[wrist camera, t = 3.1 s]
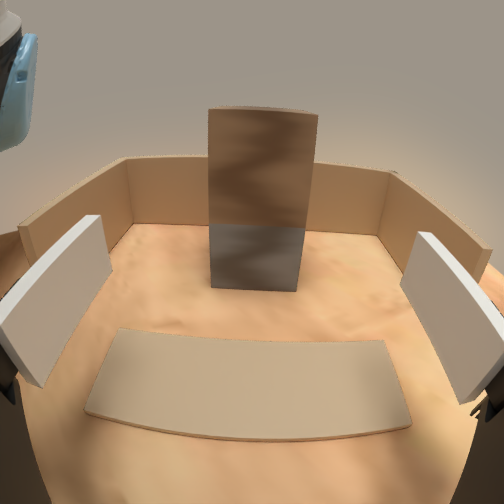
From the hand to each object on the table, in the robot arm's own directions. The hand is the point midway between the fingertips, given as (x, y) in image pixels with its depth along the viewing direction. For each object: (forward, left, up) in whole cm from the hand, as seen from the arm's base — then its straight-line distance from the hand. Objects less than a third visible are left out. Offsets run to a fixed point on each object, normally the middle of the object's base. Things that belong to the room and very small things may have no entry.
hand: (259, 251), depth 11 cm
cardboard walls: (0, +6, -7) cm, 10 cm away
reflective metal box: (0, +10, -7) cm, 12 cm away
